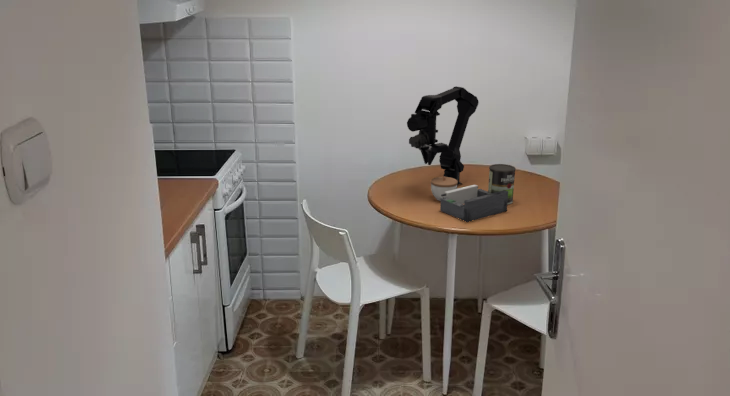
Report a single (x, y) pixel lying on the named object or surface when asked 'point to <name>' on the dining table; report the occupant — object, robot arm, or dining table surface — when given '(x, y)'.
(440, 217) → the dining table surface
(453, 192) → the grey flat bar
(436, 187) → the lidded jar
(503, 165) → the coffee can
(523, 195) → the dining table surface
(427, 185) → the dining table surface
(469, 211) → the box
